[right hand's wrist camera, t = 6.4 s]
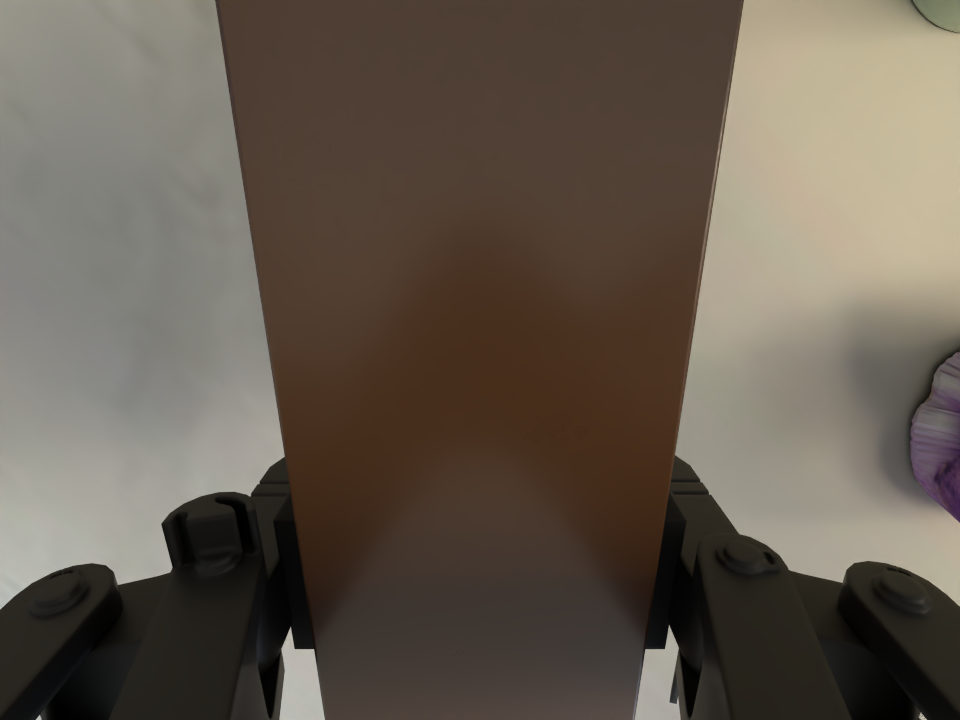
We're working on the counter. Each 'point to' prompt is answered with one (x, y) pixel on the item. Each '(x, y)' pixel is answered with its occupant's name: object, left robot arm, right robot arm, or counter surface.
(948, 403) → the figurine
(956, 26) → the pale green cylinder
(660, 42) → the walnut box
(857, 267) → the counter surface
